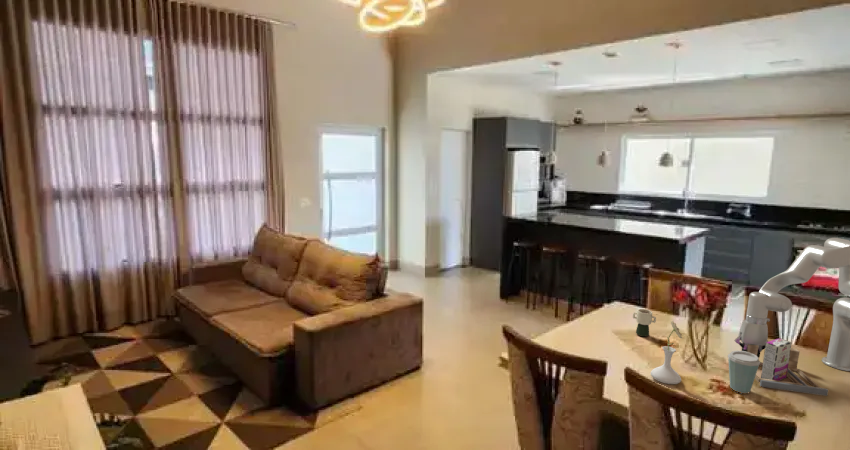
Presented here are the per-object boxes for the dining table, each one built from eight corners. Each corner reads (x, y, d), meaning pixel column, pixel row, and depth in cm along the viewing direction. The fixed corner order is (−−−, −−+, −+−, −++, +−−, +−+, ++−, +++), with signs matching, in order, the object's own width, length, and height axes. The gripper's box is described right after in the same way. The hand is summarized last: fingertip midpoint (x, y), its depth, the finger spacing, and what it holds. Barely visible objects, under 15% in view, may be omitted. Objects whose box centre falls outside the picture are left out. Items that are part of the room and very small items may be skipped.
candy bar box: (773, 373, 200) (779, 337, 197) (786, 378, 195) (792, 341, 193) (759, 378, 195) (765, 341, 192) (772, 383, 190) (778, 346, 188)
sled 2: (794, 367, 206) (797, 348, 204) (822, 392, 184) (826, 371, 183) (781, 366, 207) (784, 347, 206) (808, 390, 185) (812, 369, 184)
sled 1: (776, 364, 209) (779, 344, 207) (802, 388, 187) (806, 365, 186) (737, 359, 212) (740, 339, 211) (758, 382, 191) (762, 360, 189)
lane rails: (799, 371, 202) (800, 366, 201) (827, 395, 182) (828, 390, 181) (740, 364, 208) (740, 358, 207) (760, 386, 187) (761, 380, 187)
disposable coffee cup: (744, 398, 177) (749, 362, 175) (717, 385, 187) (722, 351, 185) (761, 394, 182) (767, 358, 179) (733, 381, 191) (739, 347, 189)
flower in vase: (679, 389, 182) (687, 330, 178) (648, 381, 188) (655, 323, 184) (681, 377, 193) (689, 320, 189) (652, 369, 199) (658, 314, 195)
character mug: (654, 335, 238) (657, 311, 235) (652, 339, 232) (655, 315, 230) (632, 330, 244) (635, 307, 242) (629, 334, 238) (632, 310, 236)
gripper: (773, 319, 208) (767, 356, 211) (731, 314, 212) (726, 351, 215) (781, 325, 201) (774, 364, 204) (738, 320, 205) (732, 358, 208)
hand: (749, 357), depth 210 cm, fingers closed on sled 1, 4 cm apart
